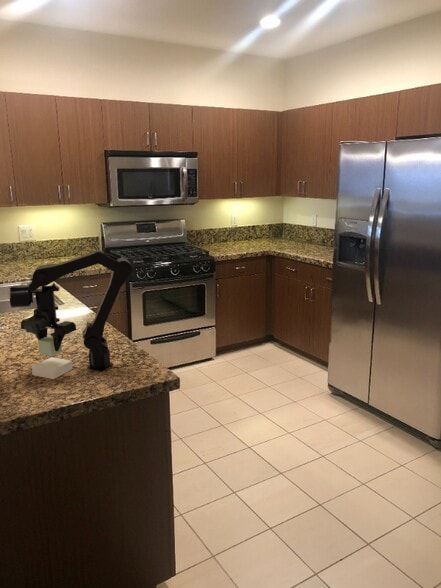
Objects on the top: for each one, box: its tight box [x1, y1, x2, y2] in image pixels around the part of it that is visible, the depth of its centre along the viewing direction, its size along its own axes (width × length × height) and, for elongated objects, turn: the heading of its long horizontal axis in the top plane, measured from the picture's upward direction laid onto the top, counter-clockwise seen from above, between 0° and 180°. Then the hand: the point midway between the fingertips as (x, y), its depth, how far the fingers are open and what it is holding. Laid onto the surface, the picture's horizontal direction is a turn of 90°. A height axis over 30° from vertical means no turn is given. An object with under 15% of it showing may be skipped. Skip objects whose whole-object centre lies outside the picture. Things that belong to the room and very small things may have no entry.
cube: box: [37, 335, 63, 358], centre depth 157 cm, size 5×5×5 cm
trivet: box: [31, 356, 73, 380], centre depth 159 cm, size 9×9×3 cm
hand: (50, 350), depth 157 cm, fingers closed on cube, 5 cm apart
